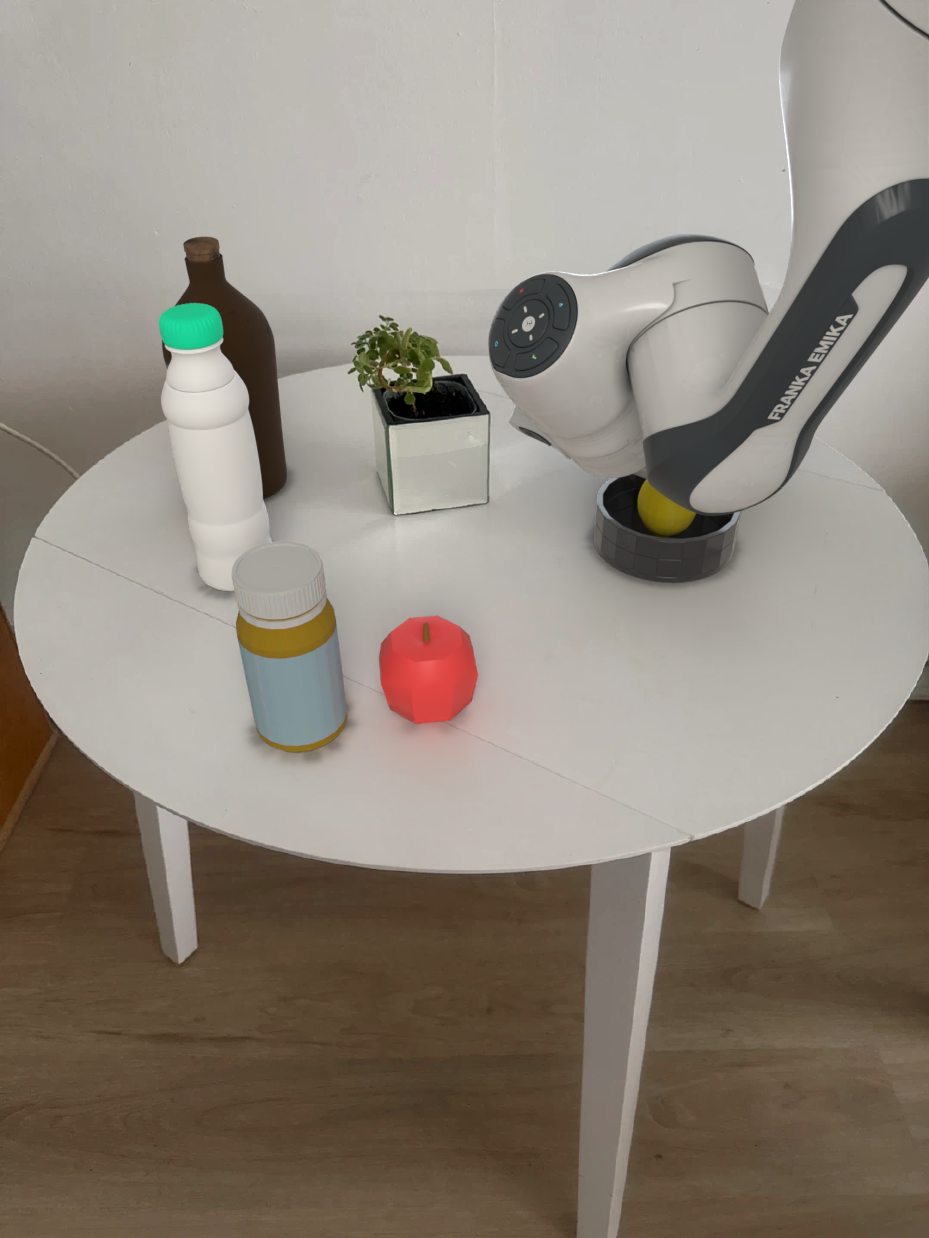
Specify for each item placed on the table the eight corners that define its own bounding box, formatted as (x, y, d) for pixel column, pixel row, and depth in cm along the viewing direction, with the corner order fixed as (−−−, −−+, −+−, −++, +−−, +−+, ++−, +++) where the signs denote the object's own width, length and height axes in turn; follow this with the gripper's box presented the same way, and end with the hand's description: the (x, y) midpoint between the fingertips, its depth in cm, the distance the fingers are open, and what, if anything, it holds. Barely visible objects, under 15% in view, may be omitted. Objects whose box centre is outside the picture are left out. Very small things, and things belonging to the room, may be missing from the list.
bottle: (364, 708, 78) (347, 551, 69) (317, 768, 73) (292, 608, 64) (289, 684, 81) (262, 528, 71) (239, 740, 76) (203, 582, 66)
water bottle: (240, 604, 89) (187, 336, 73) (183, 579, 92) (121, 317, 76) (292, 565, 93) (253, 305, 78) (237, 542, 97) (188, 288, 81)
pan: (745, 521, 98) (753, 482, 95) (715, 596, 89) (723, 555, 86) (616, 494, 102) (620, 456, 100) (575, 563, 93) (577, 523, 90)
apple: (464, 747, 75) (463, 667, 70) (364, 728, 76) (356, 648, 71) (491, 678, 81) (491, 600, 76) (398, 662, 82) (392, 584, 77)
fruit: (701, 549, 93) (713, 475, 88) (645, 557, 93) (654, 482, 88) (679, 518, 98) (690, 445, 93) (625, 525, 97) (633, 452, 92)
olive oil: (269, 447, 111) (234, 216, 96) (309, 489, 104) (278, 247, 89) (177, 474, 107) (125, 236, 91) (212, 519, 100) (162, 270, 84)
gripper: (752, 419, 72) (787, 481, 84) (525, 349, 82) (585, 413, 94) (713, 497, 72) (754, 548, 84) (492, 417, 83) (556, 473, 94)
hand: (663, 476), depth 89 cm, fingers open, 8 cm apart
